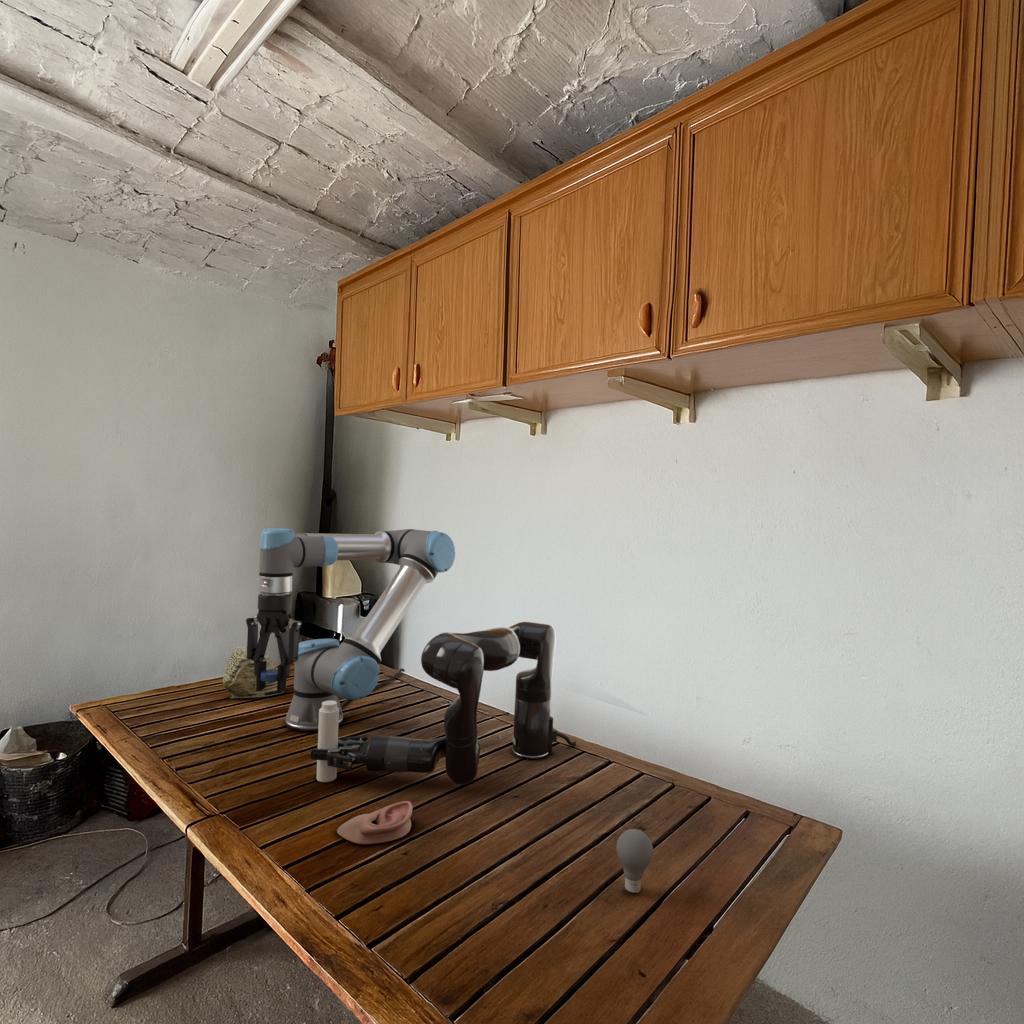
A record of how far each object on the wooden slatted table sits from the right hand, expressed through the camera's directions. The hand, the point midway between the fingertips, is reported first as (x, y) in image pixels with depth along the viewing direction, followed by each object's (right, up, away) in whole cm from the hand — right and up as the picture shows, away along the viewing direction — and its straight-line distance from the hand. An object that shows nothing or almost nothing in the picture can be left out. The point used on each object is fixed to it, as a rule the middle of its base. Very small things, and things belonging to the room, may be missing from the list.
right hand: (315, 749), depth 143 cm
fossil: (-36, -4, +55) cm, 66 cm away
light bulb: (+64, -10, -37) cm, 75 cm away
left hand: (-13, +11, +9) cm, 19 cm away
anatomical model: (+18, -8, -21) cm, 29 cm away
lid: (-13, +15, +8) cm, 22 cm away
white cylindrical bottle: (+2, -6, 0) cm, 7 cm away
